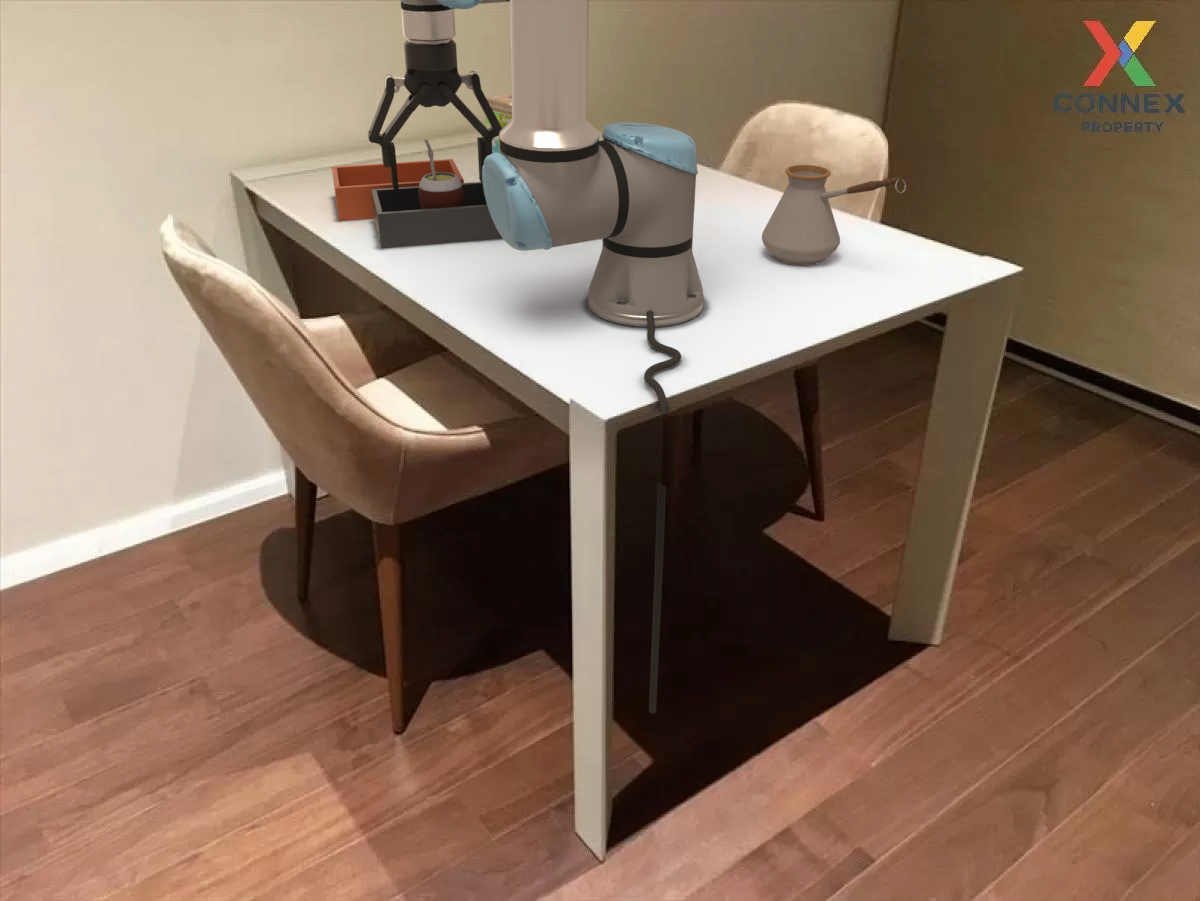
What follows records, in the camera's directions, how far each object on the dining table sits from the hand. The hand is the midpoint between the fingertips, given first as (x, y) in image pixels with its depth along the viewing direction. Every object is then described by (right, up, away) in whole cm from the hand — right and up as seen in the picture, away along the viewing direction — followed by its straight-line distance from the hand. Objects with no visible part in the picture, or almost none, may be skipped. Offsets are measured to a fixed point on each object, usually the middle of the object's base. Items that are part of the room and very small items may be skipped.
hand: (439, 184), depth 162 cm
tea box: (+13, +8, +28) cm, 32 cm away
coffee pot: (+58, -14, -9) cm, 60 cm away
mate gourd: (0, -6, +3) cm, 7 cm away
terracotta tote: (-9, 0, +15) cm, 17 cm away
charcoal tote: (0, -6, +3) cm, 7 cm away
